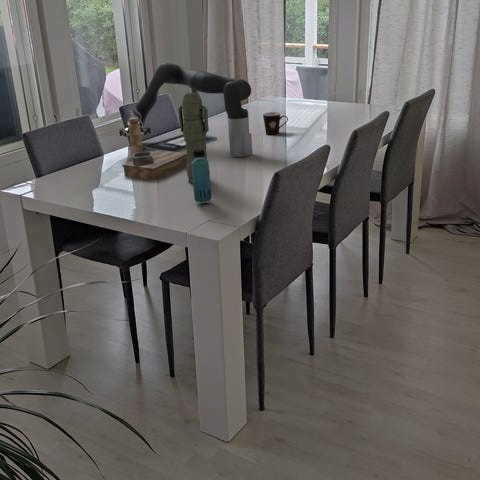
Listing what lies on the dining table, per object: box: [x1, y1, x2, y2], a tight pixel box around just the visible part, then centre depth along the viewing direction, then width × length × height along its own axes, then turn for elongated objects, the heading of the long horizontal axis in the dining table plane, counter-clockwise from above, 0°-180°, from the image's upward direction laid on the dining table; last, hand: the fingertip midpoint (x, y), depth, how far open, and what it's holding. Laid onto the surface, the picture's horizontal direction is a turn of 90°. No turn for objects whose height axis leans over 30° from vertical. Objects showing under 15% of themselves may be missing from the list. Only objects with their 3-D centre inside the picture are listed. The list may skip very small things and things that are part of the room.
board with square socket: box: [121, 150, 188, 181], centre depth 291 cm, size 17×25×8 cm
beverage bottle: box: [191, 149, 213, 203], centre depth 244 cm, size 6×7×20 cm
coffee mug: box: [262, 111, 289, 136], centre depth 338 cm, size 12×9×10 cm
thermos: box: [178, 92, 211, 185], centre depth 267 cm, size 9×12×35 cm
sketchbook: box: [143, 133, 218, 152], centre depth 334 cm, size 22×30×2 cm
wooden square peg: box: [128, 118, 144, 160], centre depth 302 cm, size 5×5×20 cm
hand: (135, 134), depth 307 cm, fingers open, 8 cm apart
